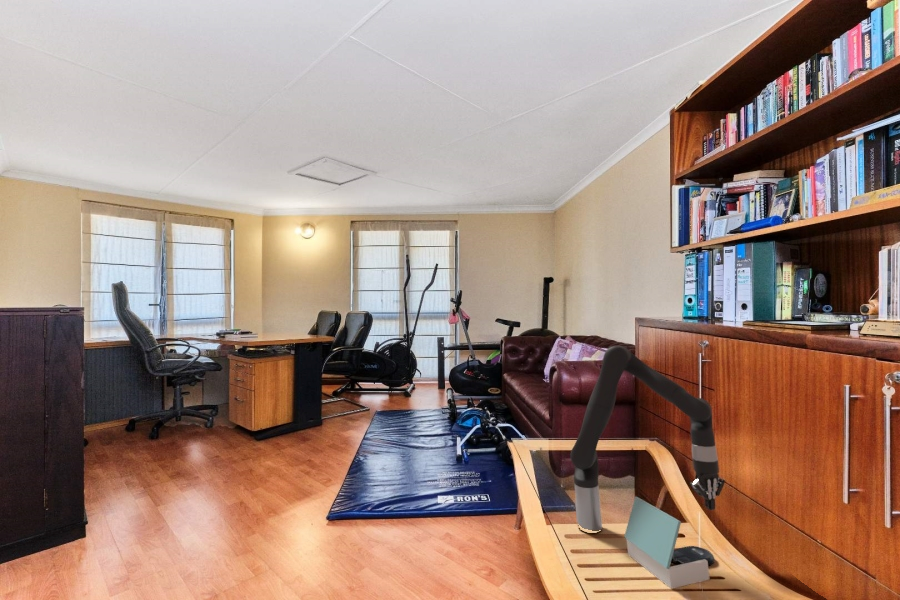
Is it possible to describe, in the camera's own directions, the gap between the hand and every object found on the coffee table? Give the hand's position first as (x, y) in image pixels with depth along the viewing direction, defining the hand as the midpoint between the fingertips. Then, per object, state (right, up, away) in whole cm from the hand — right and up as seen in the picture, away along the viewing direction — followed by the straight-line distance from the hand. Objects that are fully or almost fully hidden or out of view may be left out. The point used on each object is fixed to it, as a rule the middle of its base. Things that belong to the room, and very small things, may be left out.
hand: (710, 509), depth 136 cm
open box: (-19, -16, -6) cm, 25 cm away
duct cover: (-23, -4, -6) cm, 24 cm away
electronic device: (-9, -16, -4) cm, 19 cm away
